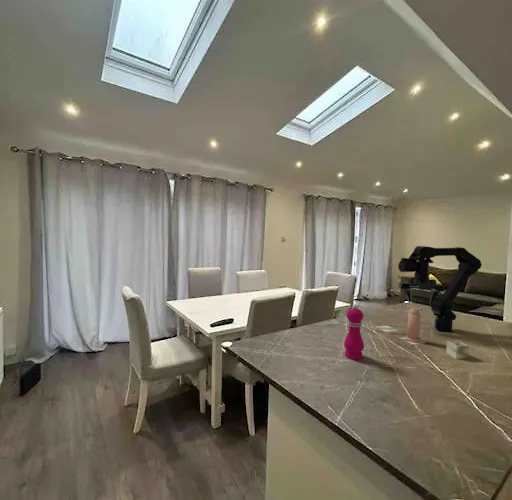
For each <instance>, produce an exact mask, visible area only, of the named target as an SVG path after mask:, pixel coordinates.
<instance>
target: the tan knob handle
mask: <svg viewBox="0 0 512 500" xmlns="http://www.w3.org/2000/svg"><path fill="white" fill-rule="evenodd" d="M420 325H421V313H420V310H419V309H418V308H415V307H414V308H413V307H411V308H410V309H409V311H408V313H407V327H406V328H407V331H406V334H407V335H406V336H405V337H404V338H405V340H407V341H409V342H413V343H420V342H421V340H422V338H421V337H420V327H421V326H420ZM407 341H406V342H407ZM409 342H408V343H409ZM420 344H421V343H420Z"/></svg>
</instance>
